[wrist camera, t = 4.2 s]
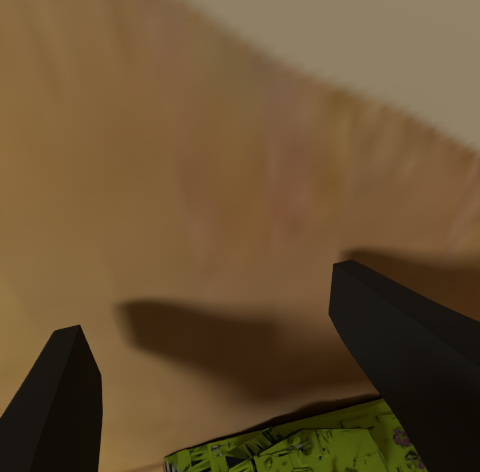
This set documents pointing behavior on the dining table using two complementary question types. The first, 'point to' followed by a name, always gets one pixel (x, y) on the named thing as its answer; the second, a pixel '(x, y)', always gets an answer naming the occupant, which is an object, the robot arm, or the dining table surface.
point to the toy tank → (311, 446)
